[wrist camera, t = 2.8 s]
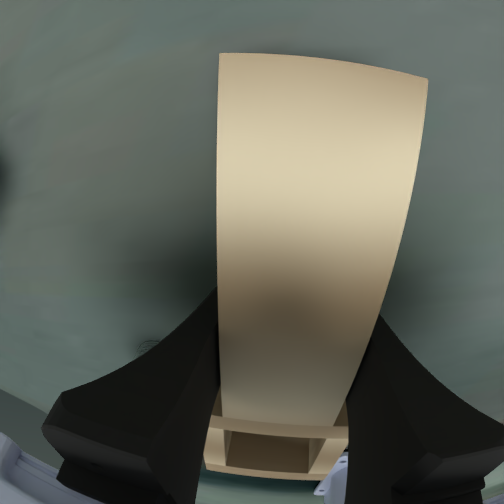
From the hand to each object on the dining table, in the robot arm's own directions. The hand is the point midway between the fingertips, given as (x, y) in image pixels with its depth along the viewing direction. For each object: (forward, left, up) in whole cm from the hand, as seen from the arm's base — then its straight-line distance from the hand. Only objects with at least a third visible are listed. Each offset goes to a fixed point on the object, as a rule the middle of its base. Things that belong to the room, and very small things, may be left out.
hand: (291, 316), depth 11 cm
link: (-1, 0, -1) cm, 1 cm away
